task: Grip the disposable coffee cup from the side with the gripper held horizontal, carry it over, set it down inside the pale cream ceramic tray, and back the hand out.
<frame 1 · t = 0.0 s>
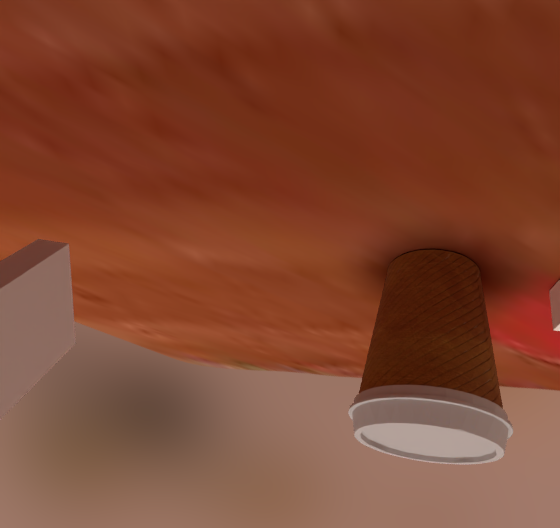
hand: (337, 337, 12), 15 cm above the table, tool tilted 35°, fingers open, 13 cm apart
disposable coffee cup: (432, 270, 37), on the table
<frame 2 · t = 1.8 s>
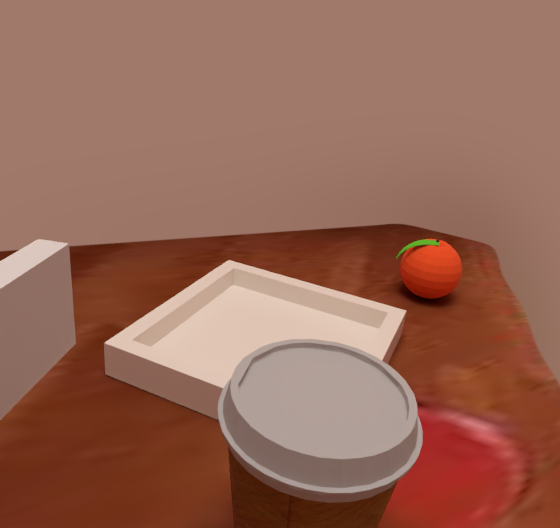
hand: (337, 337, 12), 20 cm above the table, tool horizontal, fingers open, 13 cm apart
clementine: (419, 296, 62), on the table
cream tray: (268, 353, 48), on the table
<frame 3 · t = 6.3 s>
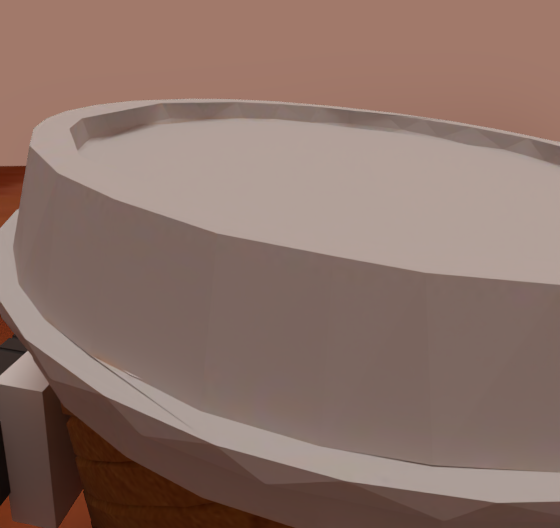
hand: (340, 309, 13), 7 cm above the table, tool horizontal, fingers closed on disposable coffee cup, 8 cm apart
when the fingers open (9 cm above the table, at t = 11.2 s): disposable coffee cup drops 1 cm, resting on cream tray.
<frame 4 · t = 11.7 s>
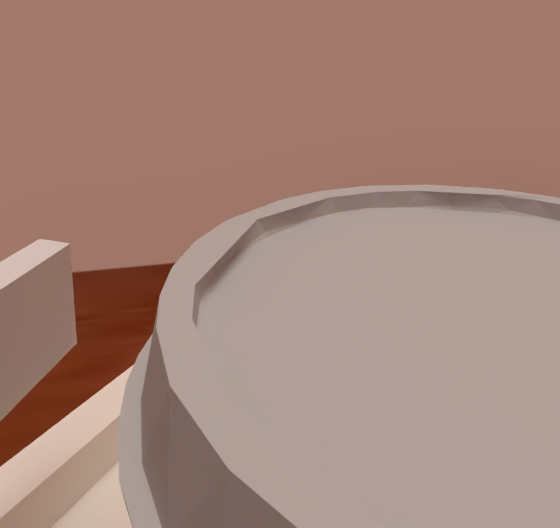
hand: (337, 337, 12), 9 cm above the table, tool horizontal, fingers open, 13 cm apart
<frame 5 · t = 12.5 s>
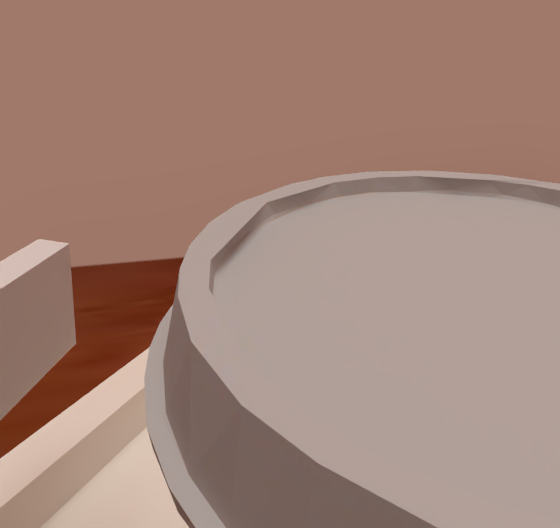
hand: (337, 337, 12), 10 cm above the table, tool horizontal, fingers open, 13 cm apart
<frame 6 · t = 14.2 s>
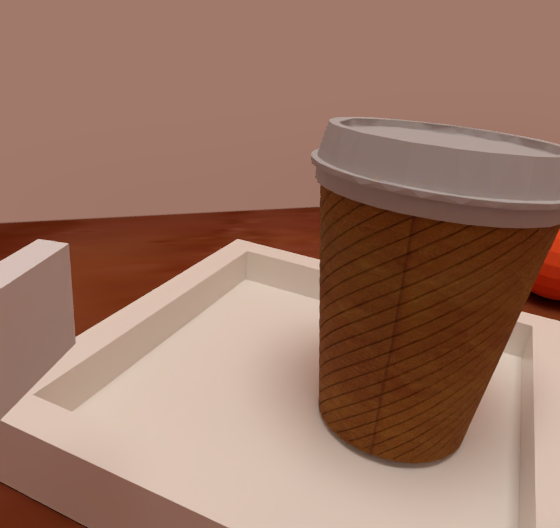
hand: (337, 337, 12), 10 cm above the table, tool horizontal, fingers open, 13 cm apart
disposable coffee cup: (388, 417, 23), point 1 cm above the table, touching cream tray
clementine: (540, 297, 39), on the table
cream tray: (320, 407, 25), on the table
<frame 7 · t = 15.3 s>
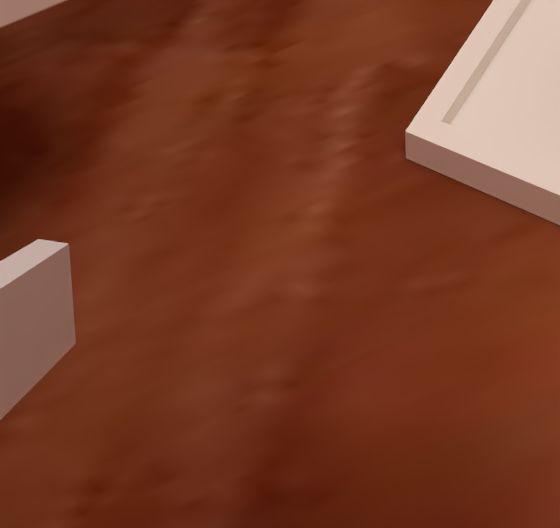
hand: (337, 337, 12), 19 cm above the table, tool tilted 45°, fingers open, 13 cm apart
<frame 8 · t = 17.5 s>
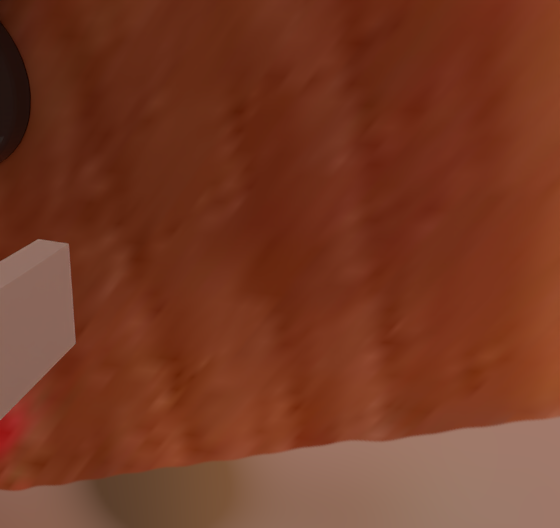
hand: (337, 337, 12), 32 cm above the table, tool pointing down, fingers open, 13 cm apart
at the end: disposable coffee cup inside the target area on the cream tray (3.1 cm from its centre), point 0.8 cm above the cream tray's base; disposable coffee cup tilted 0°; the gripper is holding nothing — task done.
